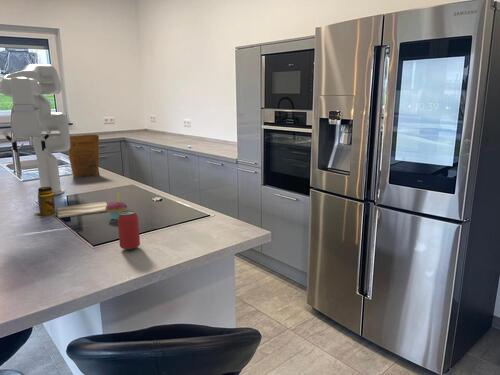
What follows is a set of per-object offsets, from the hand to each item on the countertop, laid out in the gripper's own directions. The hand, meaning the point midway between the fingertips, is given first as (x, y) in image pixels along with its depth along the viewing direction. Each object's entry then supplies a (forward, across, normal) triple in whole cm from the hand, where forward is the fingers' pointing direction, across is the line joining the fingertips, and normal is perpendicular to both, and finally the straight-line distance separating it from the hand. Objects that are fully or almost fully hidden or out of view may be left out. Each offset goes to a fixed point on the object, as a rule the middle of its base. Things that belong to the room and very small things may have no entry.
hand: (30, 151), depth 157 cm
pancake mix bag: (+27, -28, -81) cm, 90 cm away
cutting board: (+28, -18, -2) cm, 34 cm away
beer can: (+29, -27, +54) cm, 67 cm away
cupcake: (+29, -29, +18) cm, 45 cm away
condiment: (+28, -3, -3) cm, 29 cm away
